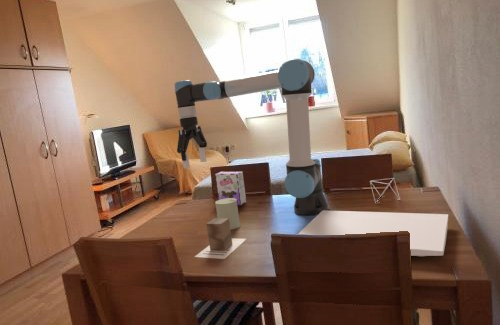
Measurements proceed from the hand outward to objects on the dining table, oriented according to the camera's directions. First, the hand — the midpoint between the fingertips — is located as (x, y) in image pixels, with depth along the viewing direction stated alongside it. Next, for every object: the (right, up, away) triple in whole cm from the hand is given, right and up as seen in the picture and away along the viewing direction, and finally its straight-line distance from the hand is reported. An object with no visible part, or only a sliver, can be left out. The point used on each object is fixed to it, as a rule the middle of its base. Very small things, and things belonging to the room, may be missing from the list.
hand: (195, 164), depth 173 cm
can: (+16, -26, -8) cm, 32 cm away
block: (+14, -30, -31) cm, 45 cm away
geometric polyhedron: (+85, -16, +2) cm, 86 cm away
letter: (+14, -30, -31) cm, 46 cm away
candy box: (+15, -20, +30) cm, 39 cm away
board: (+66, -26, -40) cm, 81 cm away
